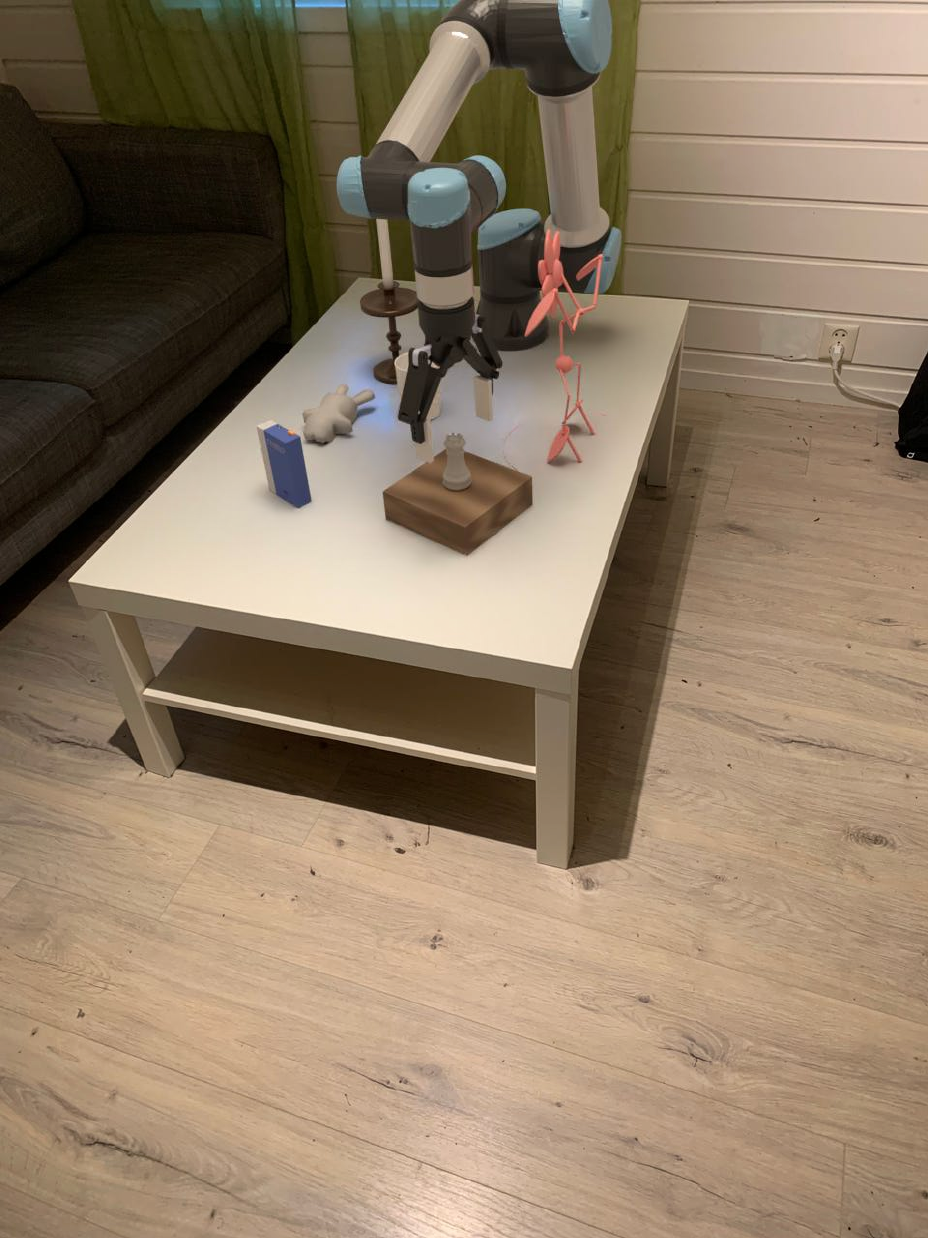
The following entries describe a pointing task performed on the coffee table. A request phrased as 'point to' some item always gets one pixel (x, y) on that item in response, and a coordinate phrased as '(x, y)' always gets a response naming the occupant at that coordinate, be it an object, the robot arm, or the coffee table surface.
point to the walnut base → (458, 502)
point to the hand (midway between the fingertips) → (455, 438)
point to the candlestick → (388, 305)
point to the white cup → (401, 373)
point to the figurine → (561, 324)
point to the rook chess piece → (456, 464)
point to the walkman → (284, 463)
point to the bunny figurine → (334, 414)
